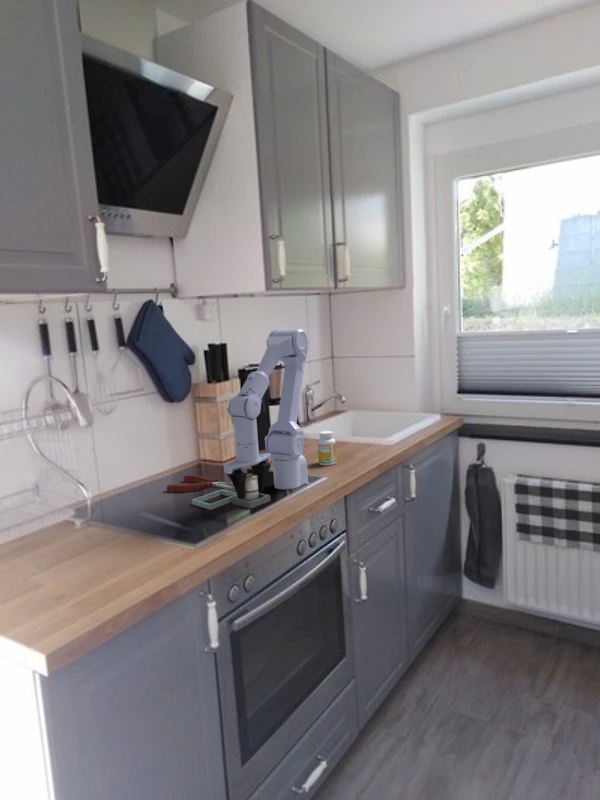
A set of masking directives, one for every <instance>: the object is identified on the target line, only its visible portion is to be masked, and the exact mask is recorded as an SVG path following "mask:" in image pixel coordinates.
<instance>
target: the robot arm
mask: <svg viewBox="0 0 600 800" xmlns="http://www.w3.org/2000/svg"><path fill="white" fill-rule="evenodd" d="M265 340H266V341H265V342H266V349H265V352H264V354H263V357H262V359H261V360H260V363H259V365H258V367H257V369H256V371H251V372H250V373H249V374H248V375H247V378H246V380H245V382H244V383H243V385H242V387H241V389H240V390H239V392H238V394H237V395H234V396H233V397H232V398H231V399H230V400H229V403H228V405H227V414H228V415H229V417H230V419H231V424H232V425H233V428H234V442H235V454H236V457H235V460H233V461H231V462H229V463H227V464H224V465H223V471H224V474H226V475H227V477H228V478H229V479H230V482H231V483H233V485H232V486H233V487H234V490H235V493H237V496H238V498H242V499H243V498H245V481H246V476H247V474H248V473H247V472H244V471H243V469H247V468H251V470H252V473H253V474H257V476H258V478H257V479H258V492H260V493H263V492H264V488H265V483H266V480H267V479H266V478H267V475H268V473H269V471H270V468H271V463H269V462H272V471H273V472H272V473H273V485H274V488H275V489H277V490H292V489H298V488H299V487H300V486H301V485H305V484H309V485H310V484H311V483H310V482H309V475H308V474H309V473H308V462H307V460H306V458H305V456H304V455H303V452H304V449H305V441H304V432H305V431H304V430H303V429H302V428H301V427H300V426H299V424H297V423H298V422H297V421H298V415H299V408H300V407H299V406H300V401H301V392H302V387H303V377H304V371H305V363H306V361H307V359H308V350H309V345H310V344H309V342H310V340H309V338H308V336H307V334H306V332H305V330H304V329H302V328H297V329H280V330H277V329H274V330H272V331H270V333H269V334H268V337H267V338H266V339H265ZM279 362H282V363H283V365H284V373H283V380H282V386H281V394H280V399H279V406H278V407H279V408H278V412H277V413H278V414H277V421H276V422H274V423H273V424H272V425H270V426H269V429H268V433H267V435H266V437H265V441H264V446H265V451H266V452H263V453H260V450H259V440H258V439H259V438H258V436H259V435H258V426H257V425H258V423H257V417H259V415H260V414H261V411H262V410H261V409H262V408H261V407H262V406H261V405H262V401H263V400H262V398H263V396H264V395H265V393H266V391H267V390H268V388H269V386H270V382H271V381H270V380H269V377H270V376H271V374H272V372H273V371H274V369H275V368H276V366H277V364H278V363H279Z"/></svg>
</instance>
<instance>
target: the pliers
mask: <svg viewBox="0 0 600 800" xmlns="http://www.w3.org/2000/svg"><path fill="white" fill-rule="evenodd" d="M183 482H184V483H187V484H168V485H167V486H166V490H167V492H168V493H176V494H177V493H178V494H179V493H188V492H189V493H191V492H201V491H204V490H207V489H210V488H212V487H215V488H221V489H222V488H224V489H235V487H234V485H233V483H232V482H225V481H219V479H217V478H213V479H210V478H208V477H207V478H206V477H204V476H201V475H191V474H190V475H189V474H188V475H185V476H184V477H183Z"/></svg>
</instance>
